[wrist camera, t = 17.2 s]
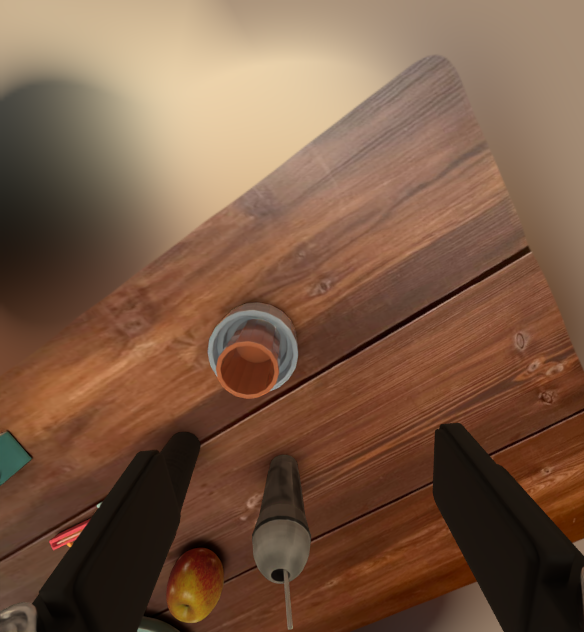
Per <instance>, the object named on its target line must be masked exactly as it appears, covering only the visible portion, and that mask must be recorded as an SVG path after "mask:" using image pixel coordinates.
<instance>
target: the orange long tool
mask: <svg viewBox="0 0 584 632" xmlns="http://www.w3.org/2000/svg"><path fill="white" fill-rule="evenodd" d="M101 504H102V502H101V503H99V504H98V505H97V506H96V507H98V508H99V506H100V505H101ZM89 521H90V519H88V520H86V521H84V522H82V523H80V524H78V525H76V526H74V527H72V528H70V529H67V530H65V531H63V532H61V533H59V534H58V535H56V536H55V537H54V538H52V539H51V540H50V541H49V542H50V544H51V546H52V548H53V550H55V549H57V548H59V547H61V546H63V545H65V544H67V545H68V546H69V547H71V546H72V545H73V543H72V541H74V540H76V539H77V537H78V536H79V535H80V533H81V532H82V530H83V529H84V528H85V526H86V525H87V523H88V522H89Z"/></svg>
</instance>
